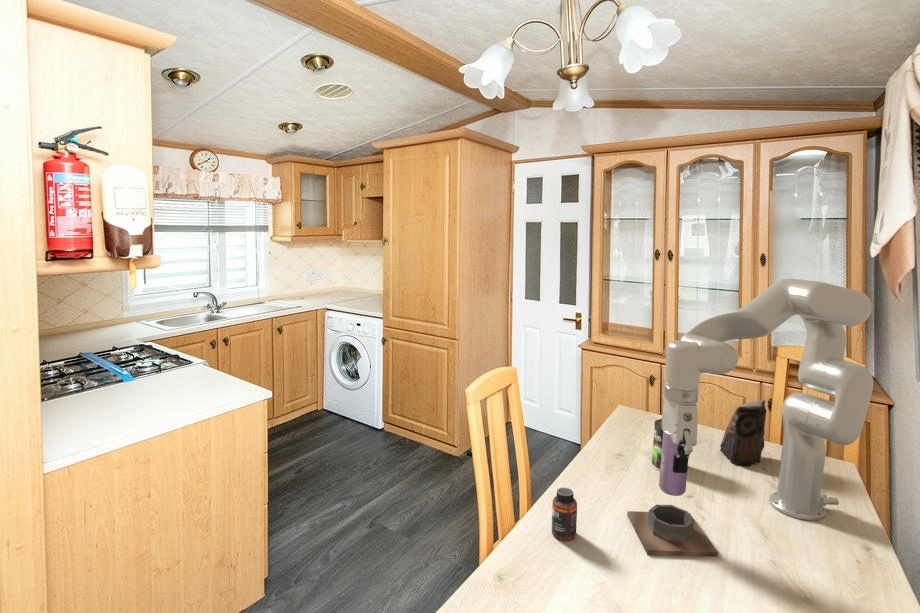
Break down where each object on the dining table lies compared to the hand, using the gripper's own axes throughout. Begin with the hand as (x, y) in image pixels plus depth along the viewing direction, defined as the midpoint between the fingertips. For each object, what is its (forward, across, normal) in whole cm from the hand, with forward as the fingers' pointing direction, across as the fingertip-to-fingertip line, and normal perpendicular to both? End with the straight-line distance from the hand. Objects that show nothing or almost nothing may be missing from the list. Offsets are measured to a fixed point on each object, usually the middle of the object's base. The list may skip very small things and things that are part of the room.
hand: (674, 465), depth 121 cm
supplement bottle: (+19, -1, +26) cm, 32 cm away
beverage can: (+7, 0, 0) cm, 7 cm away
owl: (+18, +44, -39) cm, 62 cm away
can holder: (+18, 0, 0) cm, 18 cm away
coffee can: (+18, +36, -13) cm, 43 cm away
